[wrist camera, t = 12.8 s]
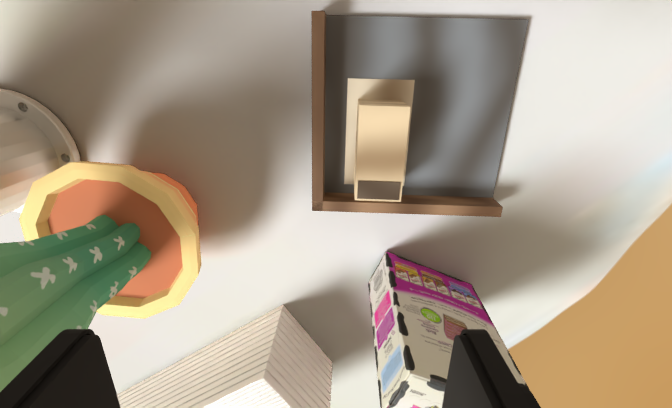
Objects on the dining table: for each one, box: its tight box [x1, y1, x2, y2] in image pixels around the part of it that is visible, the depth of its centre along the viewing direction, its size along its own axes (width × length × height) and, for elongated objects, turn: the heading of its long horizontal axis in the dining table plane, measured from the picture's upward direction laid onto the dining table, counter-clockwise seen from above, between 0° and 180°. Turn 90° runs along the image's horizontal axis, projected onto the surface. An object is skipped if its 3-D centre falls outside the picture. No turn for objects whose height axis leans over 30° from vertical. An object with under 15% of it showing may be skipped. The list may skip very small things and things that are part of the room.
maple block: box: [354, 99, 411, 202], centre depth 31 cm, size 8×4×5 cm, turn 178°
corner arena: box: [312, 11, 528, 217], centre depth 32 cm, size 18×17×3 cm
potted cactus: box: [0, 161, 201, 392], centre depth 26 cm, size 15×15×25 cm
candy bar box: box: [368, 252, 529, 408], centre depth 33 cm, size 11×5×16 cm, turn 67°
